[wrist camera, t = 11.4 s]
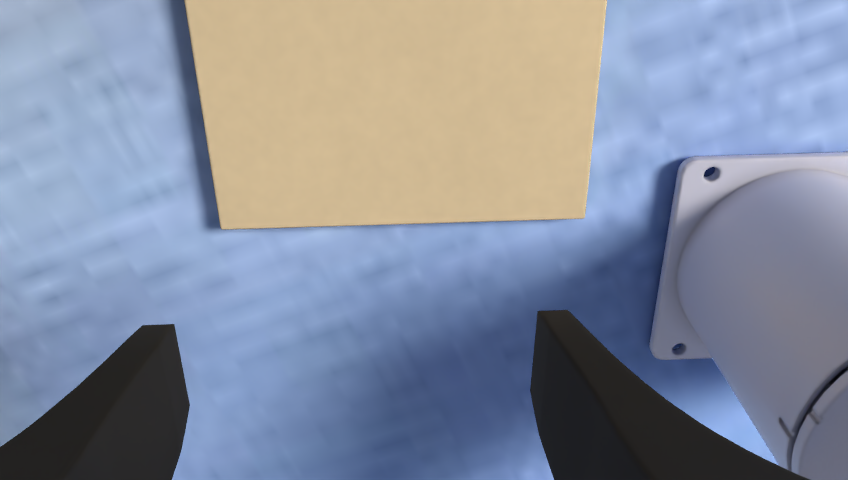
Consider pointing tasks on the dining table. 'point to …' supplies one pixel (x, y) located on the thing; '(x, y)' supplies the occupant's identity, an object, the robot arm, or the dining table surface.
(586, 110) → the cutting board
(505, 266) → the dining table surface
